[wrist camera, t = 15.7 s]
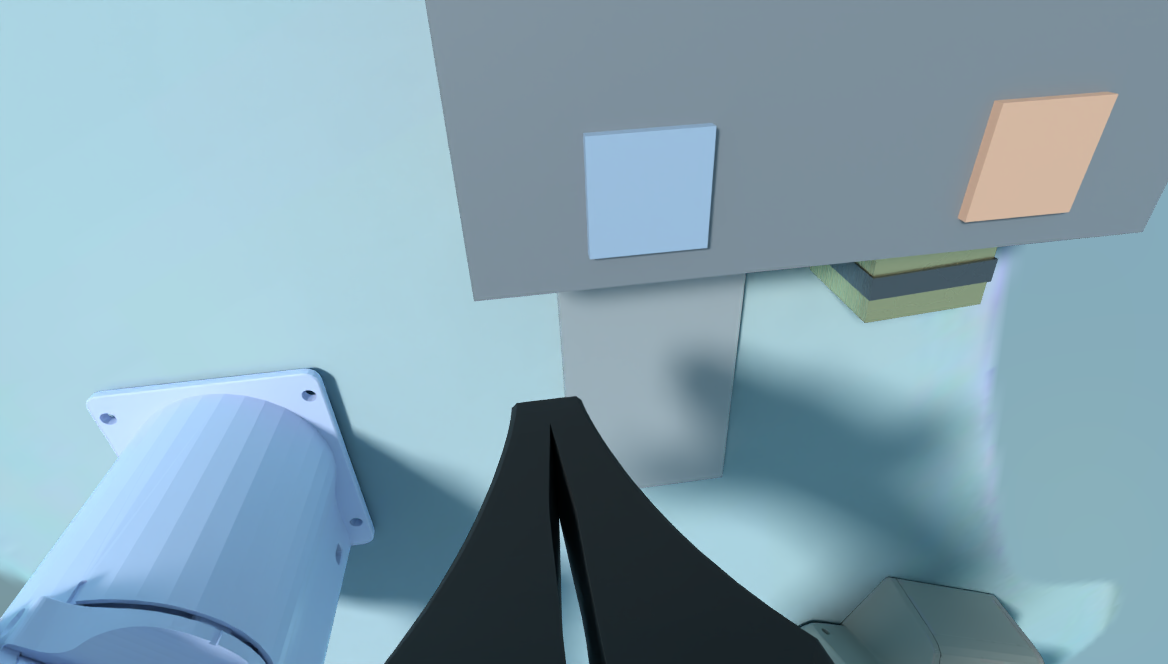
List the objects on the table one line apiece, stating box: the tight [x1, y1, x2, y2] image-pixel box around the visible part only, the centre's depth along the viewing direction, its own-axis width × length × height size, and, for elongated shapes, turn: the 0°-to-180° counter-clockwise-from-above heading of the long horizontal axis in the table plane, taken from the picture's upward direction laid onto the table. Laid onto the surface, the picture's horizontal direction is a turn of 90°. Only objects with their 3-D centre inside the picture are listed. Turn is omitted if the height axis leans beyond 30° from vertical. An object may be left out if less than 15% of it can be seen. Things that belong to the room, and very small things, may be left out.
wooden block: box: [810, 247, 998, 323], centre depth 19 cm, size 9×4×4 cm, turn 6°
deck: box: [557, 273, 746, 488], centre depth 25 cm, size 11×7×1 cm, turn 2°
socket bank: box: [425, 0, 1168, 301], centre depth 16 cm, size 8×19×6 cm, turn 92°
